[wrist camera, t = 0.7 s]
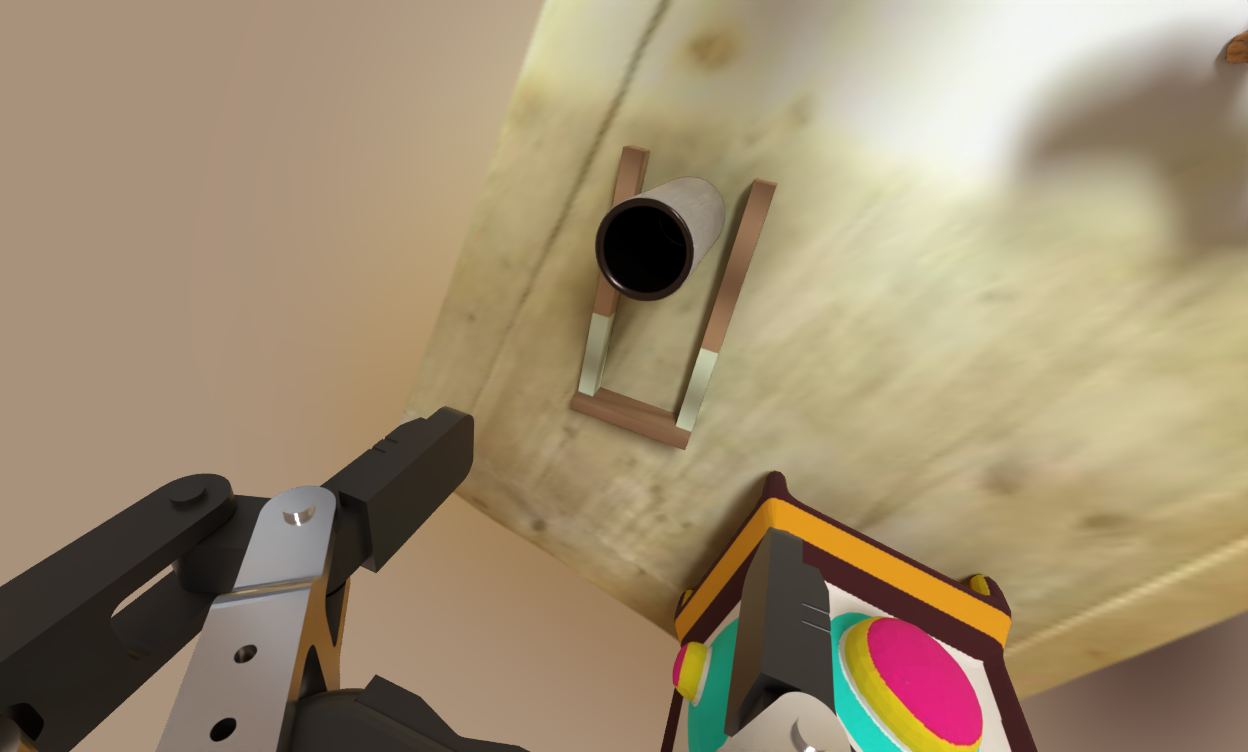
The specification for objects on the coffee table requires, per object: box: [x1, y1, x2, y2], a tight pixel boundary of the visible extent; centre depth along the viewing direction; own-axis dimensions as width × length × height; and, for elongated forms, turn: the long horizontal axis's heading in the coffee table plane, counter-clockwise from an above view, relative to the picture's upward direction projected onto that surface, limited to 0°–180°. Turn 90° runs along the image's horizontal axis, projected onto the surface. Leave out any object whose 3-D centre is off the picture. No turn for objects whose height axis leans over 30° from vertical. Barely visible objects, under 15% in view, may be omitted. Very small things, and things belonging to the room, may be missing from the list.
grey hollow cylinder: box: [595, 177, 725, 301], centre depth 26 cm, size 4×4×10 cm
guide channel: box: [571, 146, 777, 450], centre depth 32 cm, size 18×9×2 cm, turn 168°
